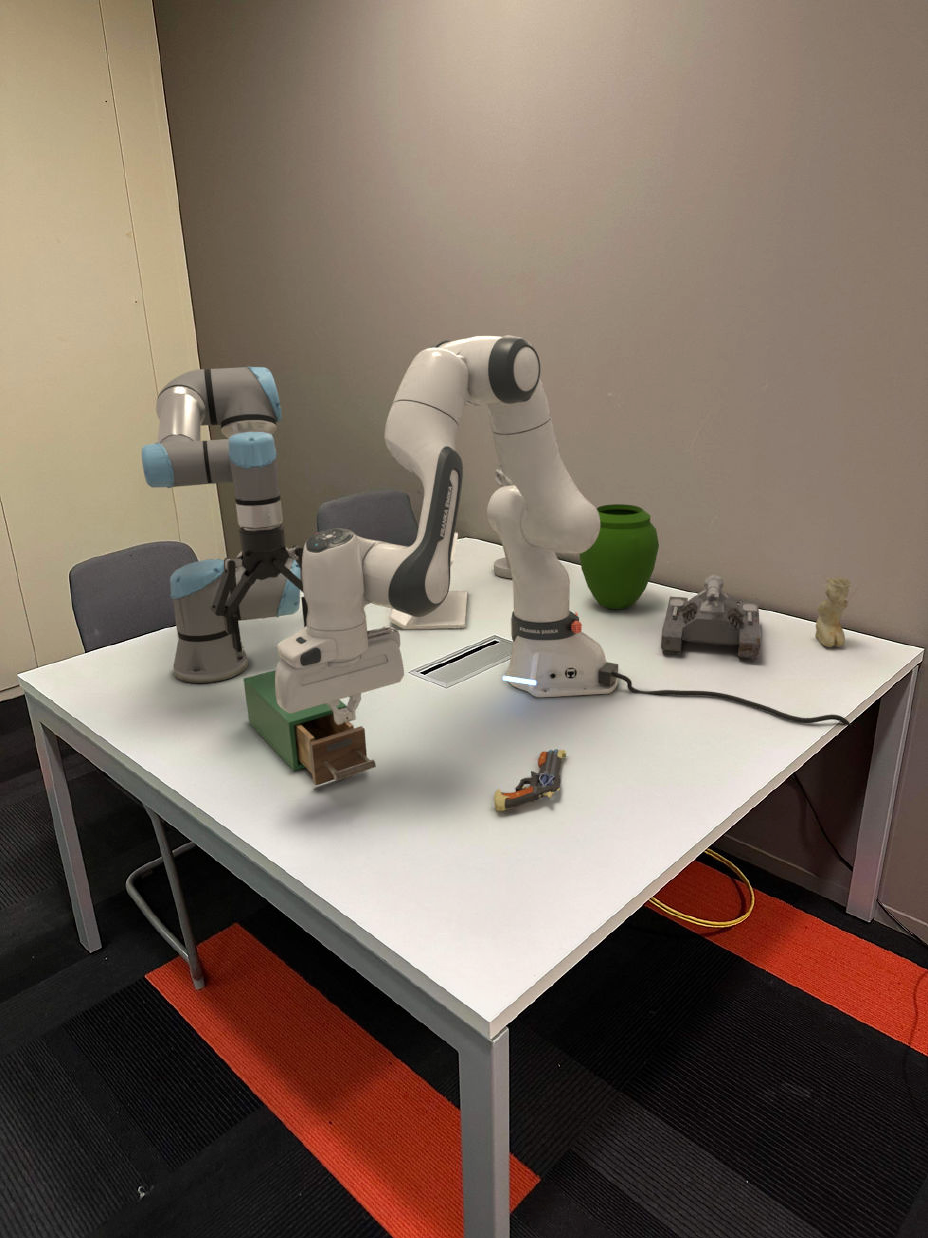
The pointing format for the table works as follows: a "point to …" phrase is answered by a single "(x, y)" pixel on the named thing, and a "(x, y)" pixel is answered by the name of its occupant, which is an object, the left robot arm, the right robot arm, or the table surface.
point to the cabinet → (278, 716)
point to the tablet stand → (437, 610)
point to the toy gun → (534, 782)
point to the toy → (712, 621)
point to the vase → (620, 556)
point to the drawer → (331, 749)
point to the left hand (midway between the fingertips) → (274, 640)
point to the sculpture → (832, 613)
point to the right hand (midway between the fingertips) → (345, 721)
